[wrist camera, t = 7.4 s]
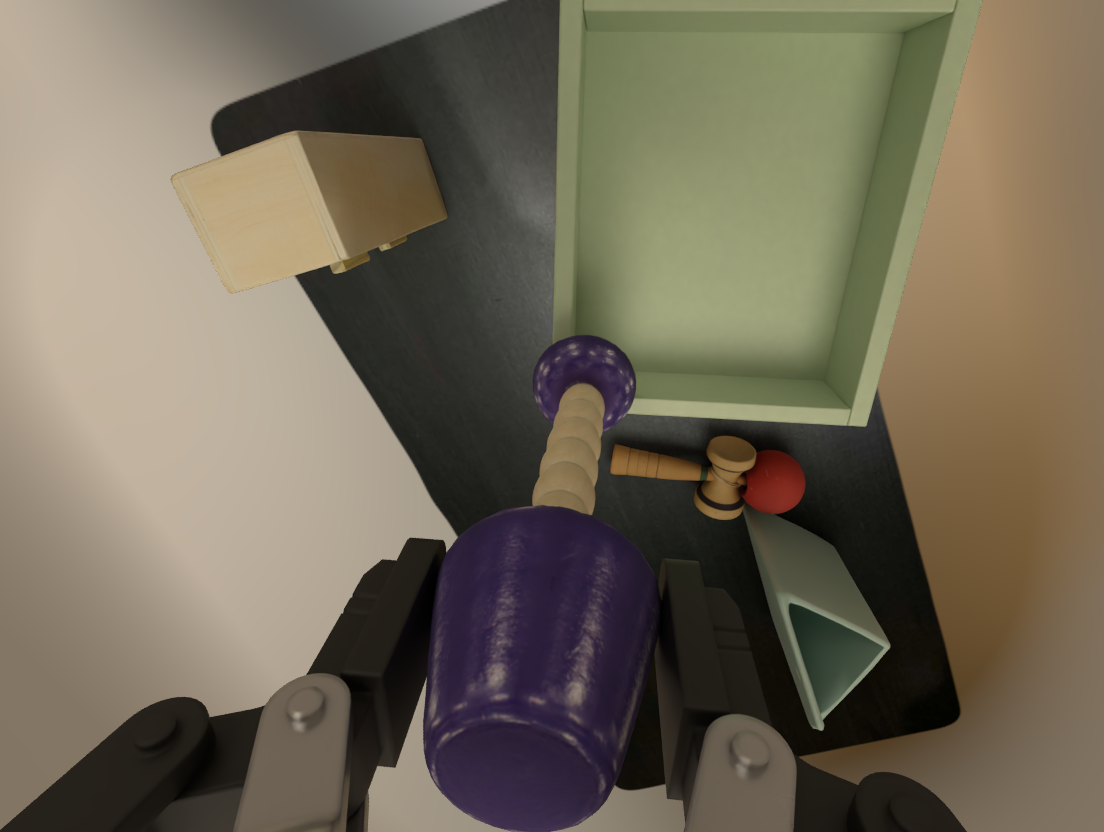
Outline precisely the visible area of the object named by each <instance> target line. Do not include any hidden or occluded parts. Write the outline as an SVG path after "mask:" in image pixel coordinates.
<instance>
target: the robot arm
mask: <svg viewBox="0 0 1104 832" xmlns="http://www.w3.org/2000/svg"><path fill="white" fill-rule="evenodd" d="M445 555H446V546H445V542H444V541H443V540H433V539H420V538H409V539H408V540H407V542H406V543H405V546H404V547H403V549H402V551H401V553H400V555H399V557H398V559H397V561H395V560H381V561H380V562H379V563H377V564H376V565H375V566H374V567H373V568H371V569H370V570H369V571H368V572H367V573H365V574H364V575H363V577H362V578H361V580H360V582H359V584H358V585H357V587H356V589H355V591H354V593H353V596H352V598H350V600H349V601H348V603H347V605H346V606H345V608H344V612H343V614H341V615H340V617H339V619H338V621H337V622H336V624H335V626H334V627H333V629H332V631H331V633H330V634H329V636H328V638H327V640H326V642H325V643H324V645H323V647H322V649H321V650H320V652H319V654H318V656H317V658H316V659H315V661H314V662H313V664H312V666H311V668H310V669H309V671H308V673H307V675H306V676H302V677H300V678H297V679H295V680H293V681H291V682H289V683H287V684H286V685H284V686H283V687H282V688H280V689H279V690H278V691H277V692H276V693H275V694H274V695H273V696H272V697H271V698H270V699H269V701H268V702H267V703H266V705H265V706H262V707H259V708H255V709H251V710H245V711H241V712H235V713H230V714H225V715H220V716H214V717H209V714H208V711H207V709H206V707H205V706H204V705H203V704H202V702H200V701H198V700H196V699H193V698H189V697H176V698H170V699H166V700H163V701H160V702H157V703H154V704H152V705H150V706H148V707H146V708H144V709H142V710H141V711H139V712H138V713H136V714H134V715H133V716H132V717H131V718H129V719H128V720H127V721H126V722H124V723H123V724H122V725H121V726H120V727H119V728H118V729H116V730H115V731H114V732H113V733H112V734H111V735H109V736H108V737H107V738H106V739H105V740H104V741H102V742H101V743H100V744H99V745H98V746H97V747H96V748H95V749H93V750H92V751H91V752H90V753H89V754H87V755H86V756H85V757H84V758H83V759H82V760H81V761H79V762H78V763H77V764H76V765H75V766H74V767H72V768H71V769H70V770H69V771H68V772H67V773H66V774H64V775H63V776H62V777H61V778H60V779H59V780H57V781H56V782H55V783H54V784H53V785H52V786H51V787H49V788H48V789H47V790H46V791H45V792H44V793H42V794H41V795H40V796H39V797H38V798H37V799H36V800H34V801H33V802H32V803H31V804H30V805H29V806H27V807H26V808H25V809H24V810H23V811H22V812H20V813H19V814H18V815H17V816H16V817H15V818H14V819H12V820H11V821H10V822H9V823H8V824H7V825H5V826H4V827H3V828H2V829H1V830H0V832H368V811H369V794H368V789H369V787H370V784H371V781H372V779H373V776H374V773H375V771H376V768H377V766H384V767H394V768H395V767H396V764H397V761H398V759H399V756H400V753H401V750H402V747H403V744H404V741H405V738H406V735H407V732H408V729H409V726H410V724H411V721H412V718H413V715H414V712H415V709H416V706H417V703H418V700H419V697H420V694H421V692H422V689H423V686H424V683H425V680H426V677H427V667H428V655H429V642H430V627H431V618H432V608H433V598H434V591H435V585H436V580H437V576H438V573H439V570H440V567H441V564H442V562H443V560H444V558H445ZM658 587H659V591H660V596H661V610H662V612H661V623H660V630H659V636H658V640H657V644H656V648H655V664H656V676H657V687H658V699H659V711H660V722H661V734H662V746H663V757H664V769H665V781H666V791H667V799H674V800H683V806H684V815H685V829H684V832H967V831H966V830H965V829H964V827H963V826H962V825H961V824H960V823H959V821H958V820H957V818H956V817H955V816H954V814H953V813H952V812H951V811H950V809H949V808H948V807H947V806H946V805H945V804H944V803H943V802H942V801H941V800H940V799H939V798H938V797H937V796H936V795H935V794H934V793H932V792H931V791H930V790H928V789H927V788H926V787H924V786H923V785H921V784H920V783H918V782H916V781H914V780H912V779H910V778H908V777H905V776H902V775H899V774H895V773H890V772H876V773H873V774H870V775H868V776H866V777H865V778H864V779H863V780H862V781H861V782H860V783H859V785H856V784H854V783H851V782H849V781H847V780H844V779H842V778H839V777H836V776H834V775H832V774H829V773H827V772H824V771H822V770H820V769H818V768H816V767H813V766H811V765H810V764H808V763H806V762H805V761H803V760H802V759H800V758H799V757H798V756H796V755H795V754H794V753H793V752H792V751H791V749H790V747H789V746H788V744H787V742H786V741H785V740H784V739H783V737H782V736H781V735H780V734H779V733H778V732H777V731H776V730H774V728H773V726H772V724H771V721H770V718H769V714H768V711H767V707H766V704H765V700H764V696H763V693H762V689H761V685H760V682H759V678H758V675H757V671H756V667H755V664H754V660H753V656H752V653H751V651H750V646H749V642H748V638H747V635H746V633H745V628H744V624H743V620H742V617H741V613H740V609H739V607H738V606H737V605H736V603H735V602H734V601H733V600H732V598H731V597H730V596H729V595H728V593H727V592H726V591H725V590H724V589H722V588H711V587H704V583H703V578H702V573H701V569H700V565H699V562H698V561H688V560H675V559H663V560H662V563H661V569H660V576H659V583H658Z"/></svg>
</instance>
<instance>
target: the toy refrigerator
mask: <svg viewBox="0 0 1104 832" xmlns="http://www.w3.org/2000/svg"><path fill="white" fill-rule="evenodd" d="M171 182H172V184H173V187H174V189H175V191H176V193H177V195H178V197H179V199H180V201H181V203H182V205H183V207H184V209H185V210H186V212H187V214H188V216H189V218H190V220H191V222H192V224H193V226H194V228H195V230H196V232H197V234H198V236H199V238H200V240H201V242H202V244H203V246H204V248H205V250H206V252H207V254H208V256H209V258H210V260H211V262H212V264H213V266H214V267H215V269H216V272H217V273H218V275H219V277H220V279H221V281H222V283H223V285H224V286H225V287H226V289H227V290H228V292H229V293H236V292H240V291H244V290H247V289H251V288H254V287H258V286H261V285H264V284H267V283H271V282H274V281H277V280H281V279H284V278H287V277H291V276H294V275H297V274H301V273H304V272H307V271H311V270H314V269H317V268H321V267H324V266H327V265H330V267H331V269H332V272H333V273H335V274H336V273H340V272H344V271H347V270H349V269H351V268H353V267H355V266H357V265H360V264H362V263H364V262H367V261H369V260H370V257H369V255H368V253H367V251H369V250H372V249H374V248H376V247H379V248H380V250H381V251H384V250H387V249H390V248H392V247H394V246H396V245H398V244H400V243H402V242H404V241H406V240H407V237H406V235H408V234H410V233H412V232H415V231H417V230H420V229H422V228H424V227H427V226H429V225H432V224H434V223H437V222H439V221H442V220H444V219H447V211H446V208H445V205H444V202H443V199H442V196H441V193H440V190H439V187H438V184H437V181H436V178H435V175H434V172H433V169H432V166H431V164H430V161H429V158H428V155H427V152H426V149H425V146H424V144H423V141H422V139H420V138H406V137H390V136H374V135H359V134H344V133H328V132H312V131H292V132H289V133H285V134H282V135H279V136H276V137H273V138H271V139H268V140H265V141H263V142H260V143H257V144H254V145H252V146H249V147H246V148H244V149H241V150H238V151H235V152H233V153H230V154H227V155H225V156H222V157H219V158H217V159H214V160H211V161H208V162H205V163H203V164H200V165H197V166H194V167H192V168H189V169H186V170H184V171H181V172H178V173H176V174H174V175H173V176H172V177H171Z"/></svg>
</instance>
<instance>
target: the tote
mask: <svg viewBox="0 0 1104 832" xmlns="http://www.w3.org/2000/svg"><path fill="white" fill-rule="evenodd" d="M982 2H983V0H560V20H559V68H558V116H557V163H556V211H555V259H554V306H553V344H554V343H556V342H557V341H559V340H562V339H565V338H568V337H571V336H576V335H592V336H598V337H601V338H603V339H606V340H608V341H610V342H611V343H613V344H615V345H616V346H618V347H619V348H620V349H621V350H622V351H623V352H624V353H625V354H626V355H627V357H628V359H629V360H630V362H631V364H632V366H633V369H634V372H635V376H636V392H635V397H634V401H633V403H632V406H631V408H630V409H629V411H628V412H627V414H644V415H662V416H681V417H699V418H717V419H736V420H754V421H772V422H791V423H809V424H827V425H848V426H864V427H865V426H866V425H867V422H868V418H869V415H870V411H871V407H872V404H873V400H874V396H875V393H876V389H877V385H878V382H879V378H880V374H881V371H882V367H883V363H884V359H885V356H886V352H887V349H888V345H889V342H890V338H891V334H892V331H893V327H894V323H895V320H896V316H897V312H898V309H899V305H900V301H901V298H902V294H903V290H904V287H905V283H906V279H907V276H908V272H909V268H910V265H911V261H912V258H913V254H914V250H915V246H916V243H917V239H918V235H919V232H920V228H921V225H922V221H923V217H924V214H925V210H926V206H927V203H928V199H929V195H930V192H931V188H932V184H933V181H934V177H935V173H936V170H937V166H938V163H939V159H940V155H941V152H942V148H943V144H944V141H945V137H946V133H947V130H948V126H949V123H950V119H951V115H952V111H953V108H954V104H955V100H956V97H957V93H958V90H959V86H960V82H961V79H962V75H963V71H964V68H965V64H966V60H967V57H968V53H969V49H970V46H971V42H972V39H973V35H974V31H975V28H976V24H977V20H978V17H979V13H980V9H981V6H982Z"/></svg>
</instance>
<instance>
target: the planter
mask: <svg viewBox="0 0 1104 832" xmlns="http://www.w3.org/2000/svg"><path fill="white" fill-rule="evenodd" d="M743 513H744V517H745V520H746V524H747V528H748V531H749V535H750V539H751V542H752V546H753V550H754V553H755V557H756V561H757V564H758V568H759V572H760V575H761V579H762V583H763V586H764V590H765V594H766V598H767V601H768V605H769V609H770V612H771V616H772V619H773V621H774V624H775V627H776V630H777V633H778V636H779V639H780V641H781V644H782V647H783V650H784V653H785V656H786V658H787V661H788V664H789V667H790V670H791V673H792V675H793V678H794V681H795V684H796V687H797V690H798V692H799V695H800V698H801V701H802V704H803V707H804V709H805V712H806V715H807V718H808V721H809V723H810V725H811V726H812V727H813V728H814V729H818V730H823V729H824V724H823V719H824V718H825V717H826V716H827V715H828V714H829V713H830V712H831V711H832V710H833V709H834V708H835V707H836V706H837V705H838V704H839V703H840V702H841V701H842V700H843V699H844V697H845V696H846V695H847V694H848V693H849V692H850V691H851V690H852V689H853V688H854V687H855V686H856V685H857V684H858V683H859V682H860V681H861V680H862V679H863V678H864V677H865V676H866V675H867V673H868V672H869V671H870V670H871V669H872V668H873V667H874V666H875V665H876V663H877V662H878V661H879V660H880V659H881V658H882V656H883V655H884V654H885V653H886V652H887V650H888V649H889V648H890V643H889V641H888V639H887V638H886V636H885V634H884V632H883V631H882V629H881V627H880V625H879V624H878V622H877V620H876V619H875V617H874V615H873V613H872V612H871V610H870V608H869V607H868V605H867V603H866V601H865V600H864V598H863V596H862V595H861V593H860V591H859V589H858V588H857V586H856V584H855V582H854V581H853V579H852V577H851V576H850V574H849V572H848V570H847V569H846V567H845V565H844V563H843V562H842V560H841V558H840V556H839V555H838V553H837V551H836V549H835V547H834V546H833V545H831V544H830V543H828V542H826V541H825V540H823V539H822V538H820V537H818V536H817V535H815V534H813V533H811V532H809V531H807V530H805V529H803V528H801V527H799V526H797V525H795V524H793V523H791V522H789V521H787V520H785V519H783V518H780V517H778V516H776V515H774V514H767V513H763V512H760V511H758V510H756V509H754V508H753V507H751V506H750V505H749V504H748V503H747V502H745V505H744V507H743Z"/></svg>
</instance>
